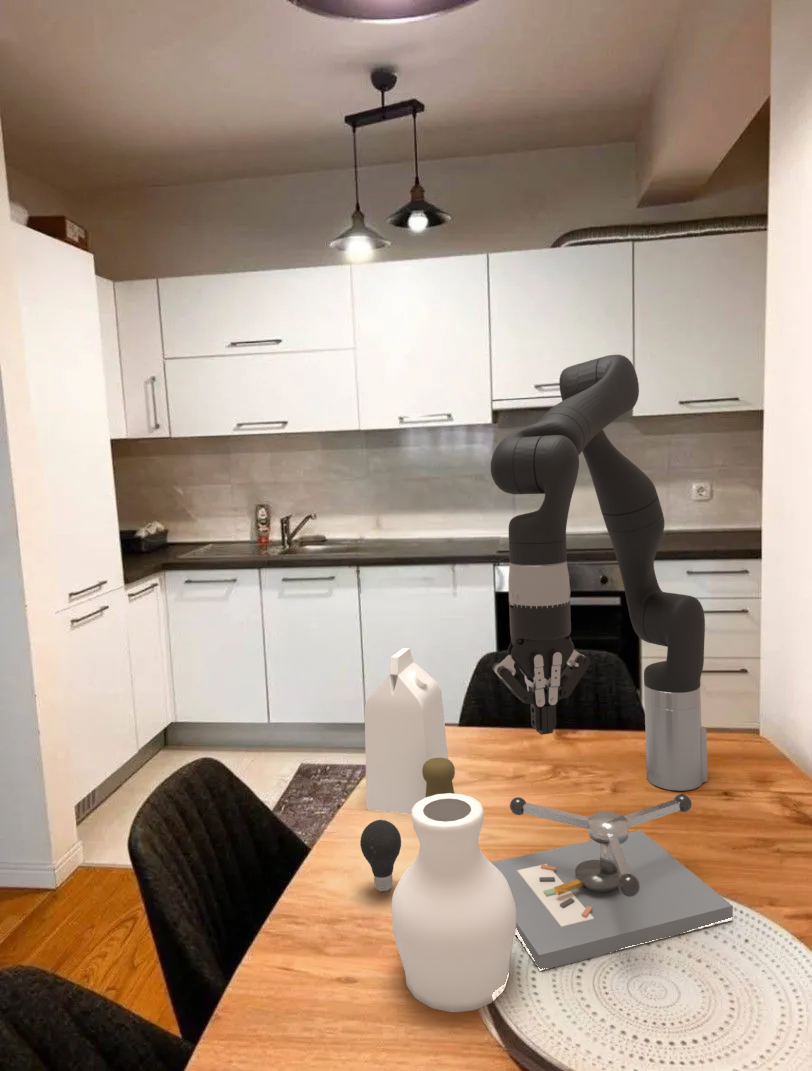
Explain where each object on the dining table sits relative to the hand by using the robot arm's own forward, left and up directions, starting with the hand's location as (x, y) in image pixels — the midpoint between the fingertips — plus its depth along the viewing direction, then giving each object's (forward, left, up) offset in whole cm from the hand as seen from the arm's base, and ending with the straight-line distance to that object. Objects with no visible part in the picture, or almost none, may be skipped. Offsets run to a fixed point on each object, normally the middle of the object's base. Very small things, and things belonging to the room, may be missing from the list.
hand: (543, 732), depth 95 cm
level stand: (-6, 0, -24) cm, 24 cm away
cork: (+7, -26, -24) cm, 36 cm away
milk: (+9, -38, -24) cm, 45 cm away
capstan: (-11, 0, -21) cm, 24 cm away
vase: (+16, +7, -24) cm, 30 cm away
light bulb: (+20, -12, -24) cm, 33 cm away
